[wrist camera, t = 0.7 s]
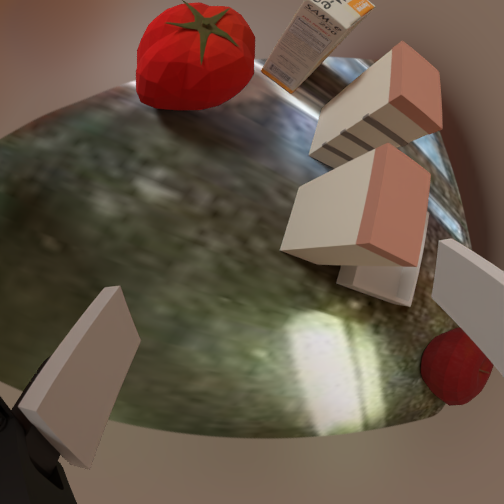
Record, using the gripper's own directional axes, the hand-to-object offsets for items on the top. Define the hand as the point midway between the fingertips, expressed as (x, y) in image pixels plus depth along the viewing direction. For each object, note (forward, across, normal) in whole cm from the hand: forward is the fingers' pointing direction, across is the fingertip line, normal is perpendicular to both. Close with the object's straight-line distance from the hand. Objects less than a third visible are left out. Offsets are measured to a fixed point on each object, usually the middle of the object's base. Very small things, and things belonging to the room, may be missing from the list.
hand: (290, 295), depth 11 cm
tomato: (+22, -6, +13) cm, 27 cm away
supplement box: (+27, +6, +15) cm, 31 cm away
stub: (+20, +4, -4) cm, 20 cm away
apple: (+18, +22, -25) cm, 38 cm away
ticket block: (+24, +9, +5) cm, 26 cm away
